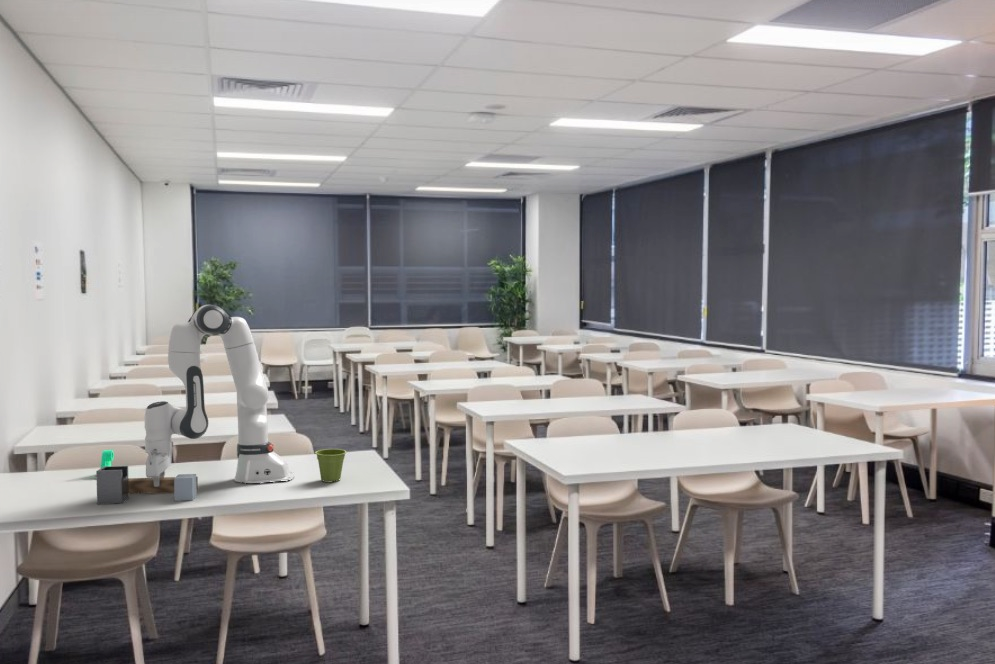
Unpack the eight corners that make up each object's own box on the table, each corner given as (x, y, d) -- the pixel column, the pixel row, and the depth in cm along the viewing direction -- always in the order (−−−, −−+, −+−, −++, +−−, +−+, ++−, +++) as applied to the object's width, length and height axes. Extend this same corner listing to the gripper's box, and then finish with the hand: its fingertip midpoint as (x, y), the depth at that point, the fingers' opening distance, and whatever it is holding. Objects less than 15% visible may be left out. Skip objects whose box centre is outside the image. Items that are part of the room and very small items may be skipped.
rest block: (196, 496, 278) (196, 473, 277) (192, 500, 272) (192, 477, 271) (178, 496, 277) (178, 474, 276) (174, 501, 271) (174, 478, 270)
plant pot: (317, 485, 294) (317, 455, 293) (313, 478, 305) (313, 450, 304) (349, 482, 298) (349, 453, 298) (343, 476, 309) (343, 447, 309)
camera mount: (121, 478, 305) (120, 452, 305) (100, 479, 303) (99, 453, 303) (128, 471, 317) (127, 446, 316) (107, 472, 315) (107, 447, 314)
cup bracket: (128, 498, 275) (128, 465, 274) (121, 503, 267) (121, 470, 267) (104, 498, 274) (103, 466, 273) (97, 504, 266) (96, 471, 266)
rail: (197, 489, 288) (197, 476, 288) (194, 492, 284) (194, 479, 284) (123, 492, 284) (123, 478, 284) (119, 494, 281) (119, 481, 280)
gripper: (159, 452, 274) (160, 491, 274) (174, 441, 294) (175, 477, 295) (140, 452, 273) (141, 491, 273) (156, 441, 293) (157, 478, 294)
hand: (159, 484), depth 284 cm, fingers open, 4 cm apart
